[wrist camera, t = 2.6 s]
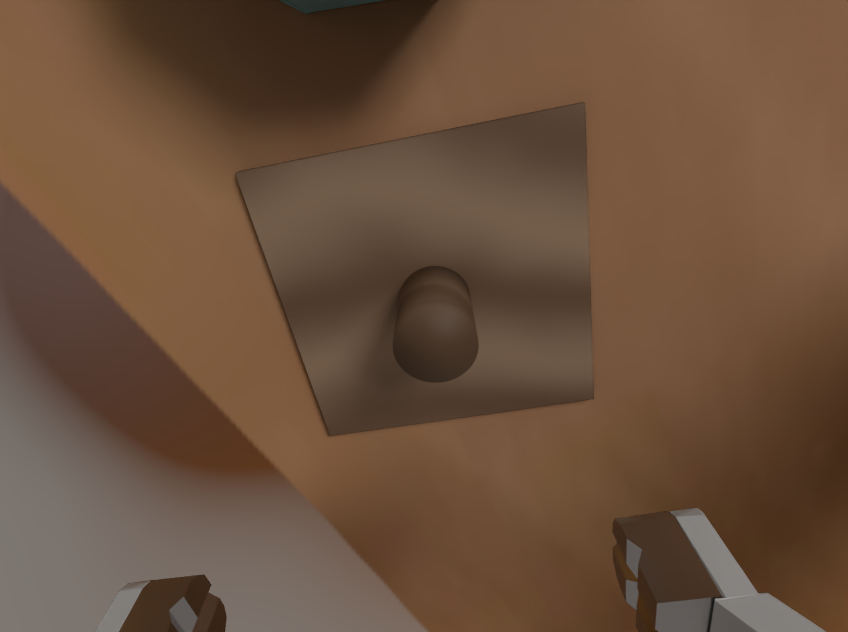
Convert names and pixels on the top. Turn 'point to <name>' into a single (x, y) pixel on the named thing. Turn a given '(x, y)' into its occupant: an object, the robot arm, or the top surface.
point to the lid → (436, 269)
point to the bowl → (323, 4)
